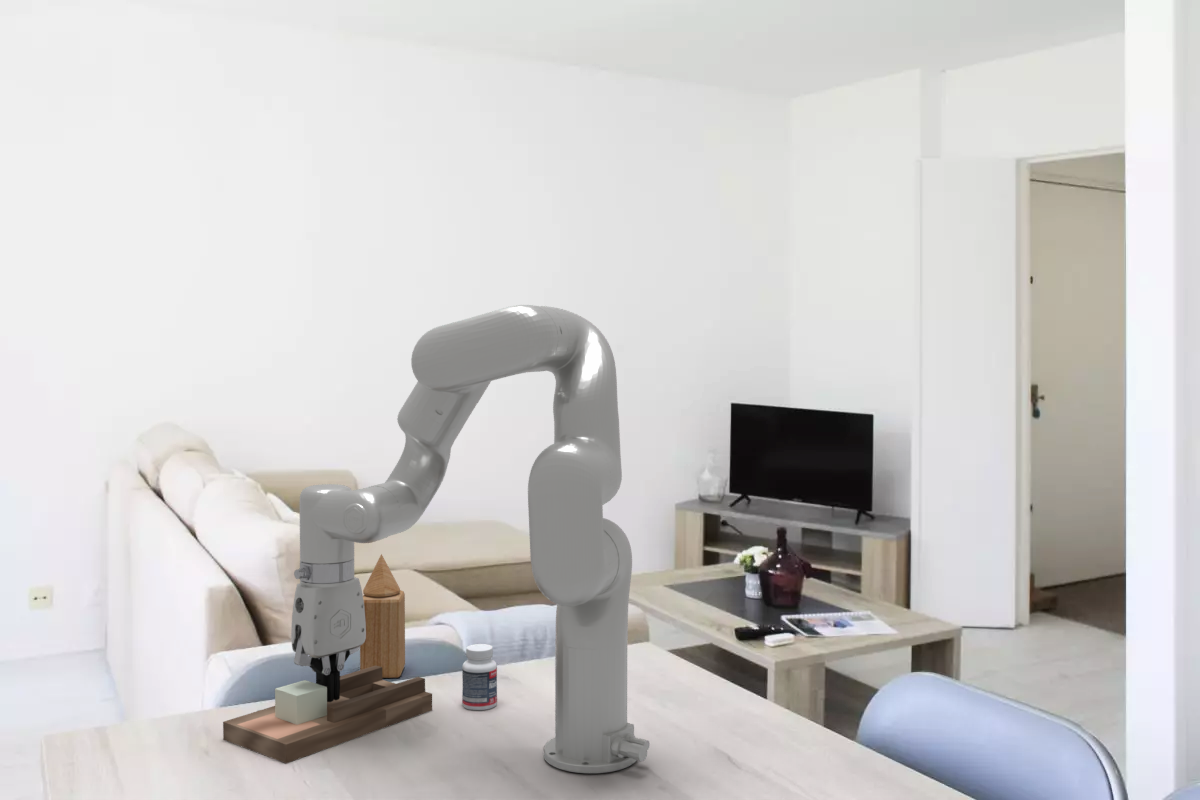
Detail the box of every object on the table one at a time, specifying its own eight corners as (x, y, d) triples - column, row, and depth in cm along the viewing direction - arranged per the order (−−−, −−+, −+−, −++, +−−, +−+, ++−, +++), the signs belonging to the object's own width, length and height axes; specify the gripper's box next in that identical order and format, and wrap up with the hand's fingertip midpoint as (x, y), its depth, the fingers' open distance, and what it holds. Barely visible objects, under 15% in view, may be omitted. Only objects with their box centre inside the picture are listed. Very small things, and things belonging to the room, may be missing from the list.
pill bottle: (494, 711, 160) (494, 652, 159) (459, 711, 160) (459, 652, 159) (498, 699, 165) (498, 642, 165) (465, 699, 165) (464, 642, 165)
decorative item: (366, 667, 182) (365, 550, 181) (405, 666, 182) (404, 549, 181) (359, 679, 175) (358, 557, 174) (400, 678, 175) (399, 557, 175)
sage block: (327, 715, 150) (326, 687, 150) (297, 724, 147) (296, 695, 146) (305, 707, 154) (305, 680, 153) (275, 716, 150) (275, 688, 149)
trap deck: (432, 710, 160) (432, 680, 160) (286, 763, 139) (285, 729, 139) (369, 691, 169) (369, 663, 168) (223, 739, 148) (222, 707, 148)
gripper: (299, 584, 145) (300, 718, 145) (385, 567, 156) (385, 691, 157) (266, 576, 149) (267, 707, 150) (352, 560, 161) (352, 681, 162)
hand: (328, 698), depth 154 cm, fingers closed
